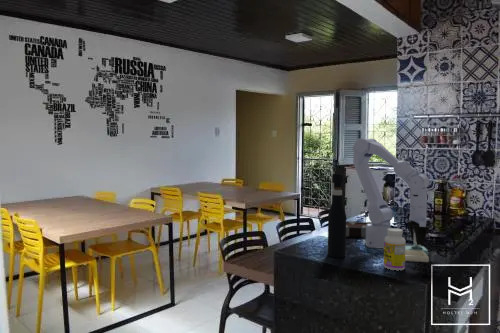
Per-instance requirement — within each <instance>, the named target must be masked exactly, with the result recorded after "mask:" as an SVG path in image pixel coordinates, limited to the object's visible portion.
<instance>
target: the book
mask: <svg viewBox="0 0 500 333" xmlns="http://www.w3.org/2000/svg"><path fill="white" fill-rule="evenodd" d="M371 223H372V222H371V221H367V222H361V221H357V220H356V221H355V220H346V238H349V237H351V238H352V237H354V238H366V224H371Z"/></svg>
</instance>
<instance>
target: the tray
mask: <svg viewBox="0 0 500 333" xmlns="http://www.w3.org/2000/svg"><path fill="white" fill-rule="evenodd" d="M429 259H430V258H429V256H428V255H426V254H425V253H424V252H423V251H417V250H405V262H417V263H418V262H419V263H421V262H422V263H429V261H430V260H429Z"/></svg>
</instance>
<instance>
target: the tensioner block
mask: <svg viewBox="0 0 500 333" xmlns="http://www.w3.org/2000/svg"><path fill="white" fill-rule="evenodd" d="M405 250H417V251H423V252H424V253H425V254H426V255H427V256H428V255H429V254H428V253H429V252H428V251H429V250H428V249H427V248H426V247H425V246H424V245H421V250H420V249H413V245H406V246H405Z"/></svg>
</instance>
